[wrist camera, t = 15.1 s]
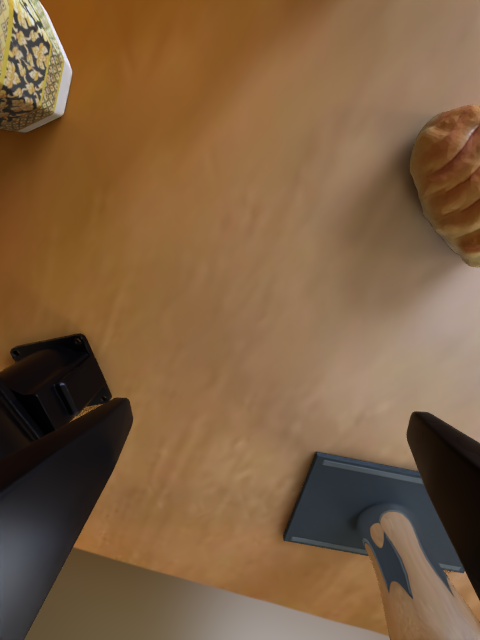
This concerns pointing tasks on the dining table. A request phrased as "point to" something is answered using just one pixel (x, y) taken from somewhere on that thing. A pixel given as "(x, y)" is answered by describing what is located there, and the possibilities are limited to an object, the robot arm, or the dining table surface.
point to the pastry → (451, 178)
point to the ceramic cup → (30, 67)
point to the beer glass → (412, 578)
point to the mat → (361, 506)
